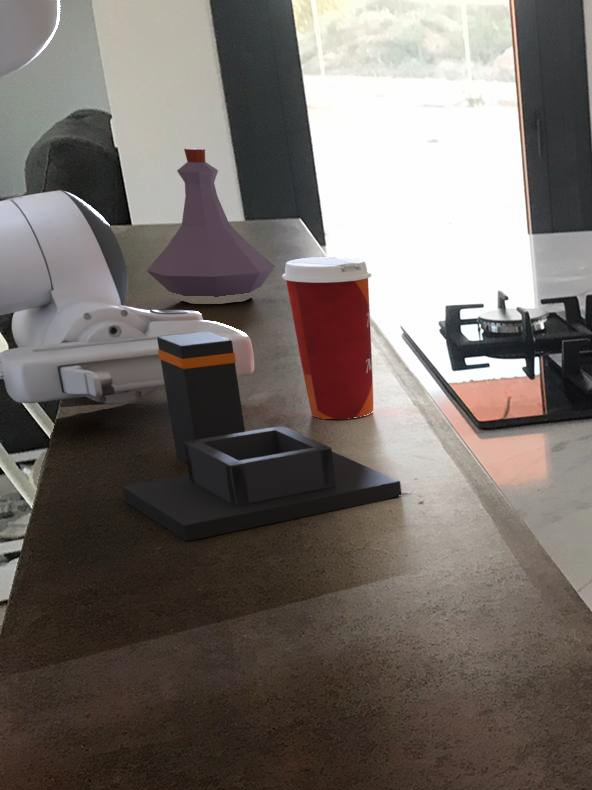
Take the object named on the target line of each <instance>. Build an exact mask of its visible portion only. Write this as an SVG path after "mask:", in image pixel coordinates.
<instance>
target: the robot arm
mask: <svg viewBox="0 0 592 790" xmlns="http://www.w3.org/2000/svg"><path fill="white" fill-rule="evenodd" d="M60 4H61V3H60V0H0V80H1V79H3V78H5V77H7V76H9V75H11V74H15V73H16V72H18V71H19V70H21V69H22V68H24V67H25V66H27V65H29V64H30V63H31V62H33V60H35V59H36V58H37V57H38V56H39V55H40V54H41V53H42V51H43V50H45V48H46V47H47V46H48V45H49V43H50V41H51V40H52V38H53V37H54V35H55V33H56V30H57V29H58V25H59V22H60V14H61V13H60V12H61V11H60V10H61V8H60V7H61V5H60ZM128 289H129V275H128V269H127V263H126V261H125V257H124V254H123V251H122V248H121V246H120V244H119V241H118V239H117V237H116V235H115V233H114V231H113V229H112V227H111V226H110V224H109V223H108V221H107V220H106V219H105V218H104V217H103V216H102V215H101V214H100V213H99V212H98V211H97V210H96V209H94V208H93V207H92V206H91V205H89V204H88V203H87V202H85V201H84V200H83V199H81V198H79V197H78V196H76V195H75V194H72V193H71V192H68V191H65V190H63V189H58V190H53V191H52V190H51V191H45V192H39V193H33V194H32V193H31V194H27V195H21V196H15V197H8V198H6V199H3V200H0V316H3V315H4V316H5V315H8V314H13V315H12V319H11V332H12V333H11V334H12V337H13V339H14V342H15V344H16V346H17V347H14V348H9V349H5V350H2V352H0V380H3V383H4V386H5V390H6V393H7V394H8V396H9V397H10V398H11V399H12V400H13V401H15V402H16V403H19V404H38V403H46V402H53V401H62V400H68V399H76V398H84V397H85V398H87V399H89V400H92V401H95V402H98V403H101V404H108V405H119V404H126V403H130V402H133V401H135V400H137V399H139V398H141V397H142V396H145V395H150V394H152V393H155V392H158V391H160V390H164V389H165V383H164V377H163V371H162V365H161V359H159V353H158V349H159V347H158V341H157V337H160V336H170V335H179V334H188V333H197V332H209V333H212V334H215V335H218V336H221V337H223V338H226V339H229V340H231V341H232V345H233V352H234V353H235V359H236V363H235V366H236V373H237V378H239V377H247V376H250V375H251V374H253V373H254V371H255V355H254V348H253V344H252V340H251V337H250V336H249V335H247V333H245V332H243V331H241V330H239V329H236V328H234V327H232V326H229V325H226V324H224V323H220V322H217V321H211V320H204V319H203V315H202V313H200V312H199V311H196V310H184V309H183V310H182V309H165V310H164V309H143V308H137V307H131V306H127V305H125V303H126V299H127V295H128Z"/></svg>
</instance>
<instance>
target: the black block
mask: <svg viewBox="0 0 592 790" xmlns="http://www.w3.org/2000/svg"><path fill="white" fill-rule="evenodd" d="M157 341H158V347H159V349H158V353H159V359H161V365H162V371H163V377H164V383H165V388H164V389H165V395H166V400H167V407H168V412H169V418H170V424H171V431H172V437H173V442H174V443H173V444H174V449H175V454H176V455H175V456H176V458H177V459H179V460H181V461H183V462H184V463H185V464H187V460H186V454H185V447H184V442H185V441H191V440H197V439H204V438H210V437H216V436H222V435H228V434H234V433H241V432H246V429H245V423H244V415H243V410H242V409H243V408H242V402H241V394H240V387H239V380H238V377H237V373H236V366H235V363H236V359H235V353H234V352H233V345H232V341H231V340H229V339H226V338H223V337H221V336H218V335H215V334H212V333H209V332H197V333H188V334H179V335H170V336H160V337H157Z"/></svg>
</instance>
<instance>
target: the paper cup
mask: <svg viewBox="0 0 592 790" xmlns="http://www.w3.org/2000/svg"><path fill="white" fill-rule="evenodd" d="M284 267H285V269H284V270H285V271H284V273H282V276H281V278H282V279H283V280H284V281H286V287H287V292H288V299H289V303H290V308H291V314H292V320H293V325H294V330H295V336H296V341H297V348H298V352H299V357H300V363H301V368H302V373H303V378H304V384H305V389H306V395H307V399H308V405H309V408H310V413H311V415H313V416H314V417H313V416H312V417H313V418H315V417H318V418H317V419H319V418H321V419H320V420H325V419H347V420H349V419H348V418H354V417H360V416H364V415H367V414H369V413H371V412H372V411H373V412H374V380H373V355H372V336H371V335H372V333H371V332H372V331H371V312H370V291H369V290H370V289H369V278H371V277H372V273H371V272H370V271H368V268H367V264H366V262H365V260H364V259H362V258H356V257H345V256H344V257H343V256H321V257H320V256H319V257H318V256H317V257H304V258H296V259H291V260H289V261H286V263H285V266H284Z"/></svg>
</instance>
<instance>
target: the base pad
mask: <svg viewBox="0 0 592 790" xmlns="http://www.w3.org/2000/svg"><path fill="white" fill-rule="evenodd" d="M184 447H185V454H186V460H187V463H186V464H187V472H188V473H187V474H182V475H176V476H170V477H166V478H159V479H154V480H149V481H142V482H138V483H132V484H127V485H126V484H125V485H122V486H121V490H122V494H123V495H122V496H123V500H124V502H125V503H127V504H129V505H130V506H132V507H133V508H134V509H136V510H137V511H139V512H141V513H142V514H143V515H145V516H146V517H148V518H150V519H151V520H153V521H155V522H156V523H158V524H159V525H160V526H162V527H164V528H165V529H167V530H168V531H170V532H171V533H173V534H174V535H176V536H178V537H179V538H180V539H182V540H184V541H186V542H191V541H196V540H202V539H205V538H206V539H207V538H211V537H215V536H220V535H225V534H231V533H235V532H239V531H243V530H248V529H252V528H258V527H262V526H267V525H272V524H277V523H281V522H286V521H291V520H295V519H300V518H304V517H310V516H315V515H319V514H325V513H328V512H329V513H330V512H333V511H338V510H343V509H348V508H352V507H356V505H357V506H361V505H360V504H362V505H365V504H364V503H367V504H370V503H369V502H371V503H374V502H373V501H376V502H379V501H378V500H381V501H385V500H390V499H394V498H393V497H395V498H397V497H396V496H399V495H402V486H401V481H400V480H398V479H396V478H393V477H391V476H389V475H387V474H386V473H385V474H384V473H382V472H380V471H378V470H376V469H374V468H371V467H369V466H366V465H365V464H362V463H360V462H357V461H356V460H352V459H351V458H348V457H346V456H345V455H342V454H339V453H338V452H335V451H333V447H331V446H328V445H326V444H324V443H321V442H319V441H317V440H315V439H312V438H310V437H308V436H305V435H304V434H301V433H299V432H297V431H294V430H293V429H290V428H288V427H286V426H283V425H279V426H273V427H265V428H260V429H255V430H254V429H253V430H247V431H245V432H241V433H234V434H228V435H222V436H216V437H210V438H204V439H197V440H191V441H185V442H184ZM389 498H390V499H389ZM384 499H385V500H384Z"/></svg>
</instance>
